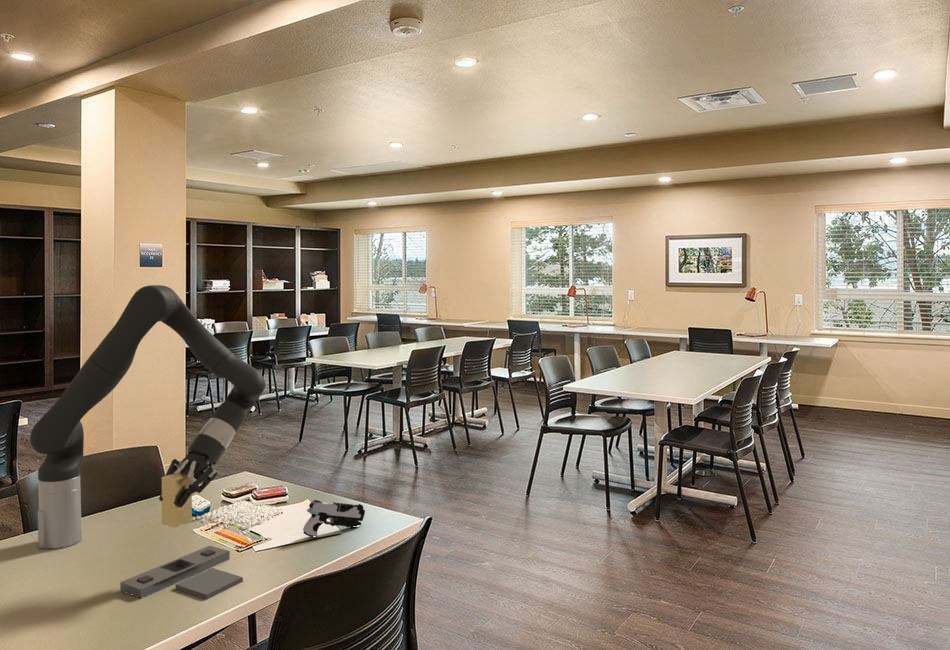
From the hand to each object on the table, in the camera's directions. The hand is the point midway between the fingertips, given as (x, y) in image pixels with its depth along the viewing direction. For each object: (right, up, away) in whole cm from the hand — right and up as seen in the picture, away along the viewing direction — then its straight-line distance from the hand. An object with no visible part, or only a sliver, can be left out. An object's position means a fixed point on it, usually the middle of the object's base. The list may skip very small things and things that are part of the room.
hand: (169, 503), depth 155 cm
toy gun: (+31, -16, +31) cm, 47 cm away
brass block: (+1, -5, +2) cm, 6 cm away
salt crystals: (+2, -15, +42) cm, 45 cm away
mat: (+10, -18, -3) cm, 21 cm away
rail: (+1, -17, +3) cm, 17 cm away
